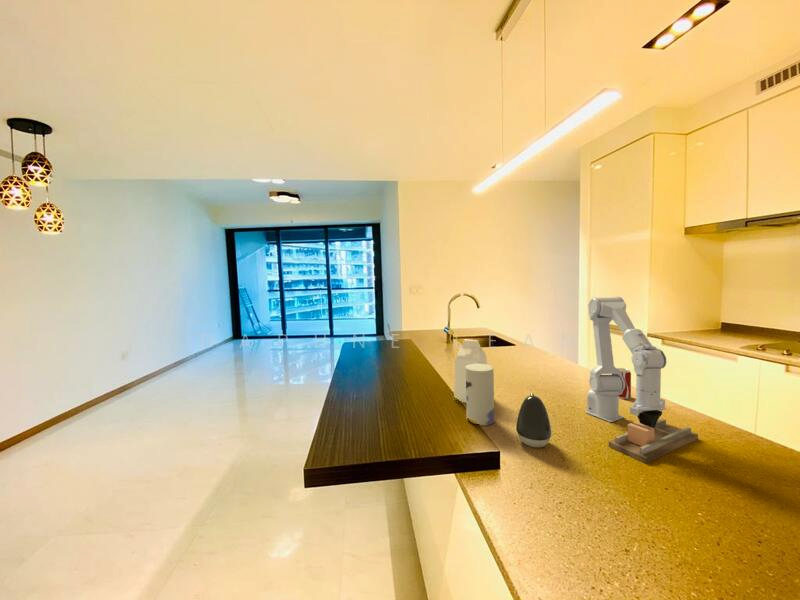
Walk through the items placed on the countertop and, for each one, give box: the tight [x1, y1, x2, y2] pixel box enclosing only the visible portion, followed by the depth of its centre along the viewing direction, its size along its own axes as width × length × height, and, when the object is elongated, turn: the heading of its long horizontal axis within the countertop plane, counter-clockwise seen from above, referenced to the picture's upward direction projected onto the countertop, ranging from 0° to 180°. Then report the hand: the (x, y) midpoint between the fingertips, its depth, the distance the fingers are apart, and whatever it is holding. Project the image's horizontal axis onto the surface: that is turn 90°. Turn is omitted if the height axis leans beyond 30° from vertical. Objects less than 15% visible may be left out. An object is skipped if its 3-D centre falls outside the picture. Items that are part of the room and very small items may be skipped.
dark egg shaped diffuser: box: [515, 392, 552, 448], centre depth 97 cm, size 10×10×15 cm
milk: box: [453, 338, 488, 403], centre depth 135 cm, size 12×12×26 cm
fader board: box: [608, 418, 699, 464], centre depth 95 cm, size 10×28×3 cm, turn 115°
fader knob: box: [627, 421, 654, 446], centre depth 92 cm, size 5×4×5 cm
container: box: [465, 363, 495, 426], centre depth 115 cm, size 10×10×20 cm
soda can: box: [616, 367, 632, 400], centre depth 131 cm, size 5×5×12 cm
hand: (647, 433), depth 94 cm, fingers closed
